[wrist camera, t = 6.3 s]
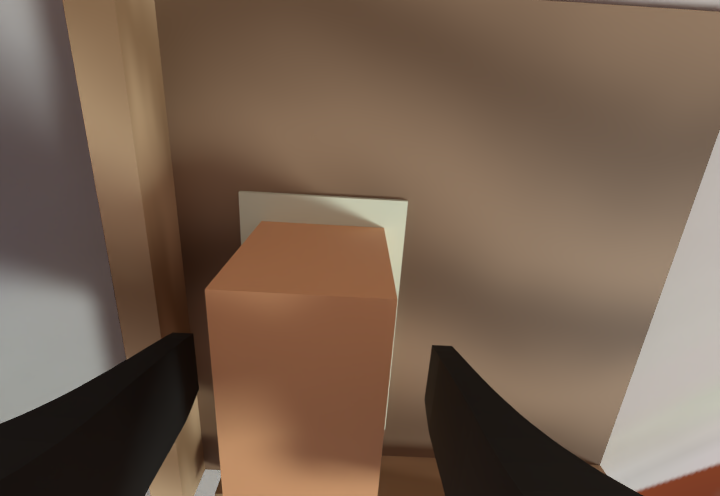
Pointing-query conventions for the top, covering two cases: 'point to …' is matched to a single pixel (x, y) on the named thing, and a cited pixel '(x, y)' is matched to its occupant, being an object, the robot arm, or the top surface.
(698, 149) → the arena
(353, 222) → the pad
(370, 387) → the block
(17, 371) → the top surface
